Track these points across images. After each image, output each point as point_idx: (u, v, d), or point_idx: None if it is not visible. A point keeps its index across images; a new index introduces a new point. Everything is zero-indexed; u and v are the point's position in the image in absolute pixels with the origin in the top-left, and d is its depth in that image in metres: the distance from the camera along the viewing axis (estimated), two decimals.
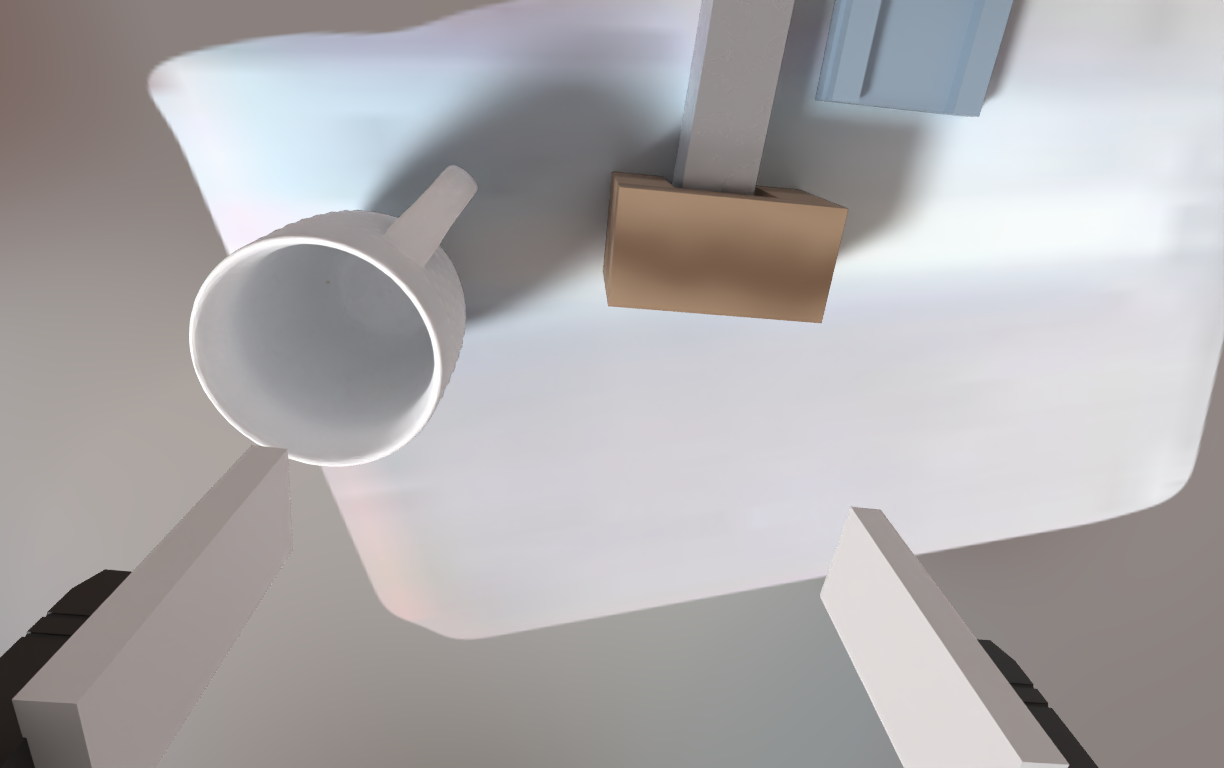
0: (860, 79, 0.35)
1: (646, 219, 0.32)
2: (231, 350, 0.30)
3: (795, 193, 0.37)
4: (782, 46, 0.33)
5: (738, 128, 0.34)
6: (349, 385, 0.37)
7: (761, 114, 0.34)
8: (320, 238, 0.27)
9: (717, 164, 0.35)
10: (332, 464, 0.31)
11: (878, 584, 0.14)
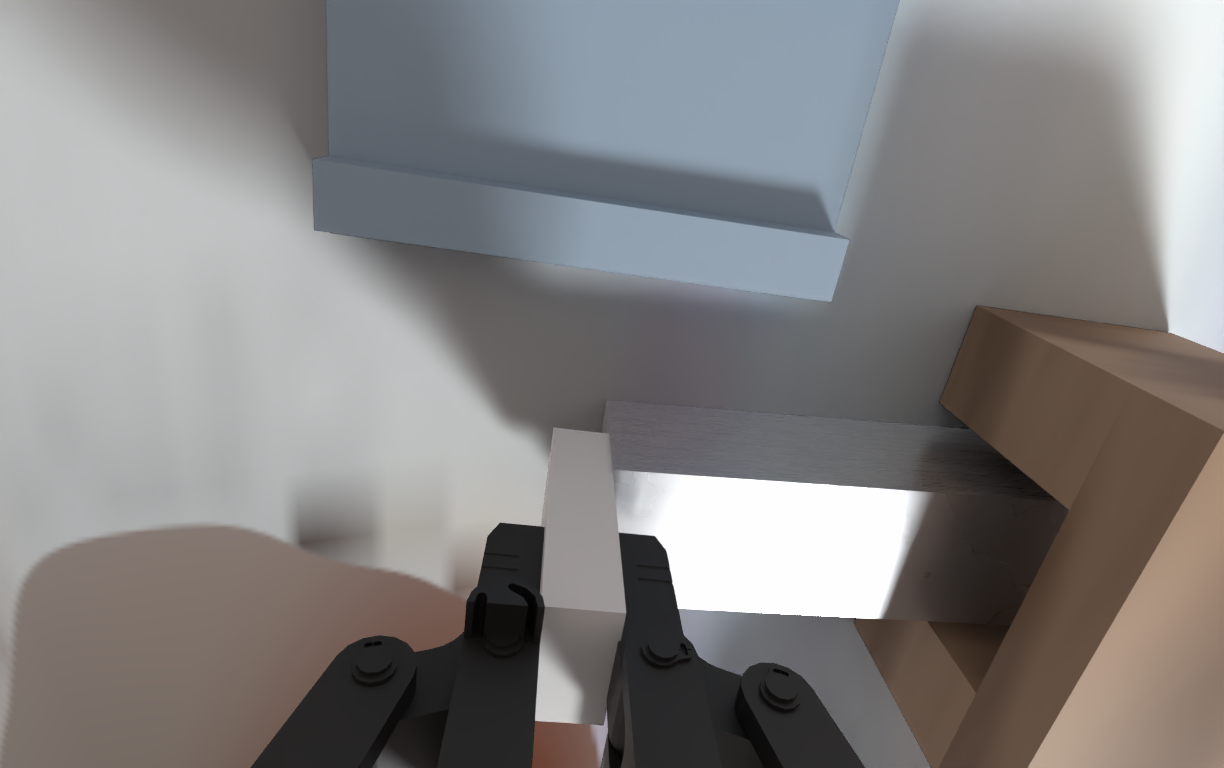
0: (799, 240, 0.15)
1: None
2: None
3: (1014, 375, 0.16)
4: (729, 482, 0.15)
5: (877, 542, 0.16)
6: None
7: (857, 505, 0.16)
8: None
9: (940, 569, 0.17)
10: None
11: None
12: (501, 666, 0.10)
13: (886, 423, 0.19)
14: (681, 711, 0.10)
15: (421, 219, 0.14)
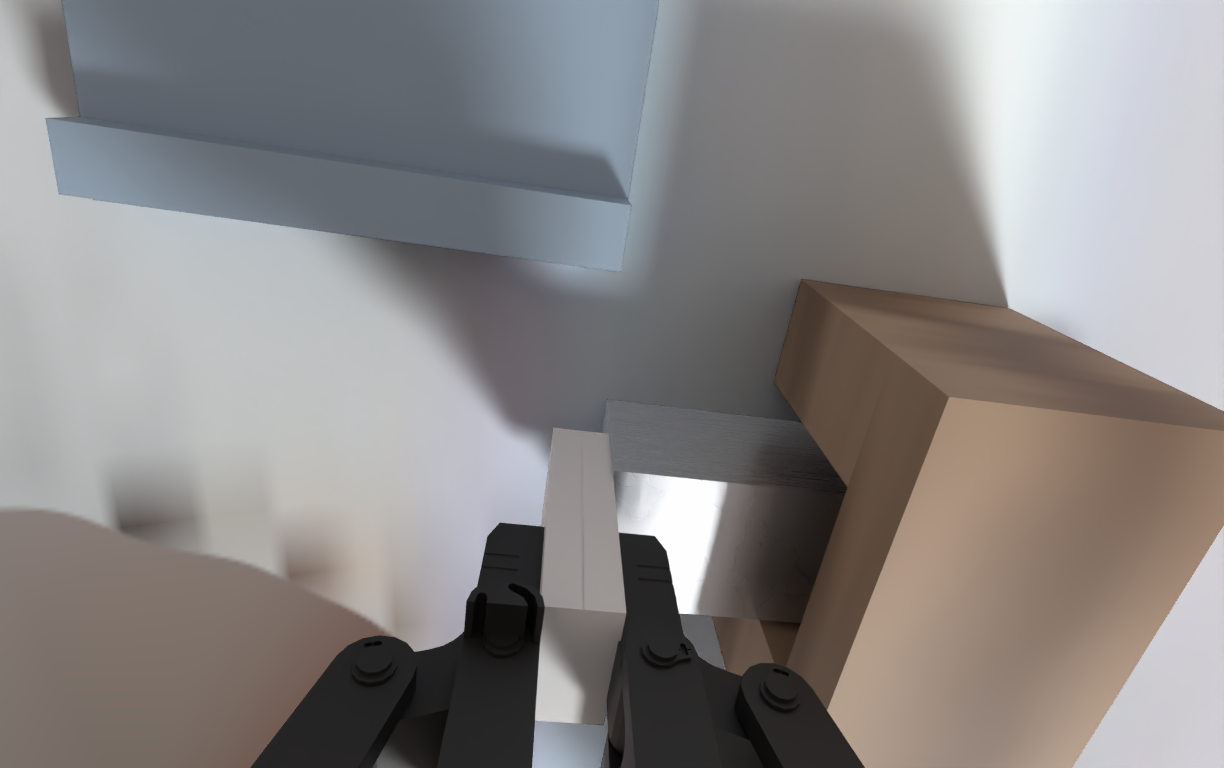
0: (577, 206, 0.14)
1: None
2: None
3: (820, 349, 0.16)
4: (730, 487, 0.15)
5: None
6: None
7: None
8: None
9: None
10: None
11: None
12: (501, 666, 0.10)
13: None
14: (681, 711, 0.10)
15: (171, 182, 0.14)
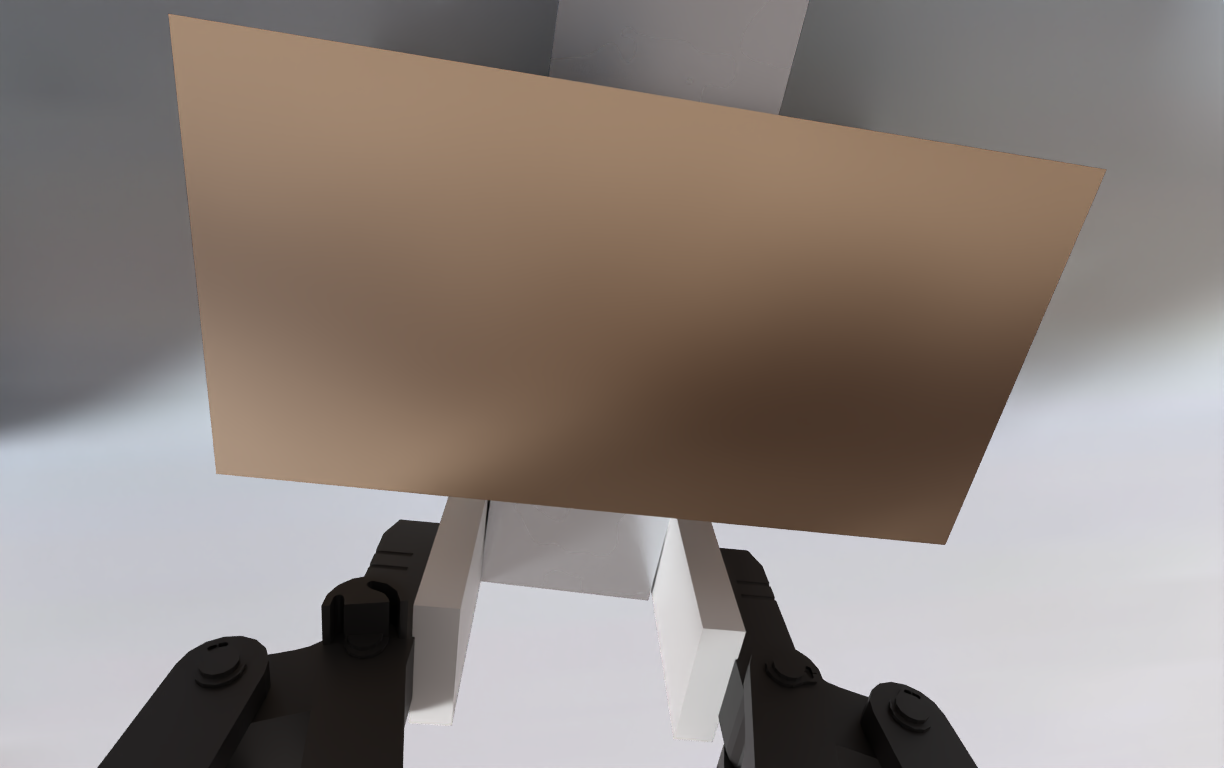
0: None
1: (311, 167, 0.08)
2: None
3: None
4: (794, 27, 0.11)
5: None
6: None
7: None
8: None
9: None
10: None
11: None
12: (365, 667, 0.09)
13: None
14: (804, 732, 0.10)
15: None
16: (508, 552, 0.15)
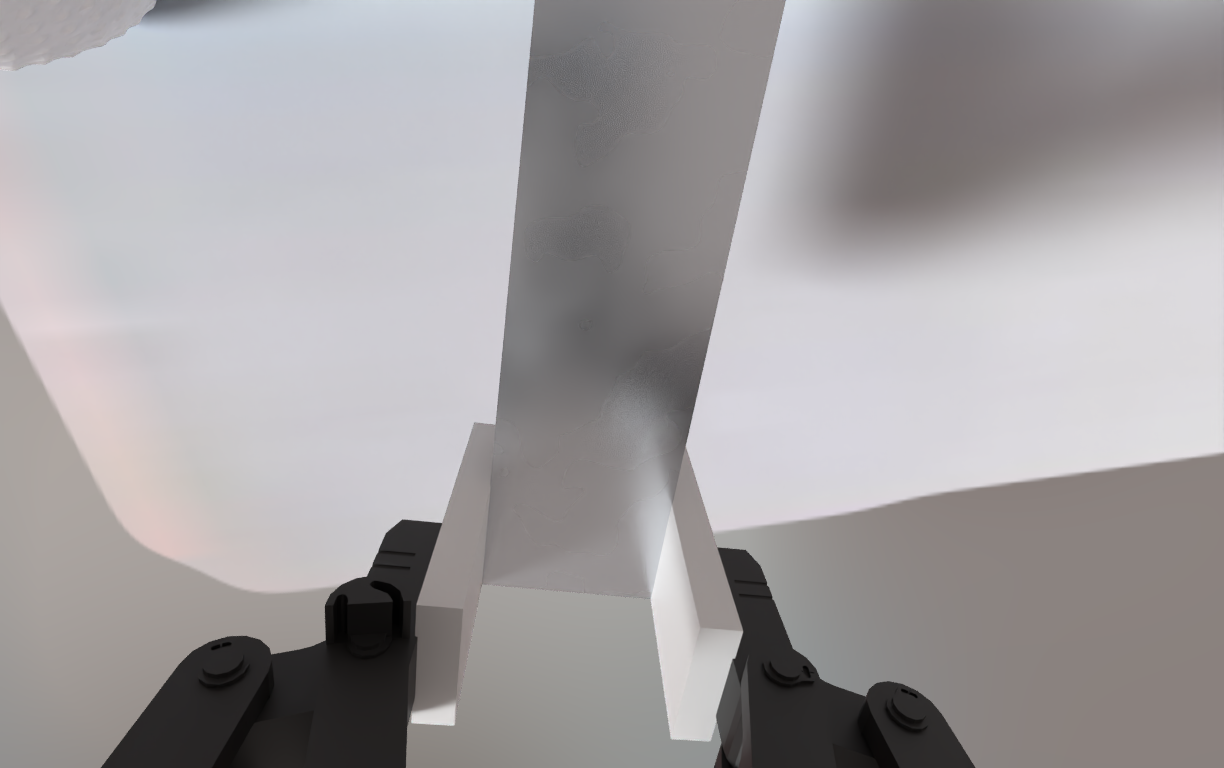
0: None
1: None
2: None
3: None
4: (774, 15, 0.11)
5: (645, 249, 0.12)
6: None
7: (710, 214, 0.12)
8: None
9: (593, 342, 0.13)
10: None
11: None
12: (368, 667, 0.09)
13: None
14: (801, 732, 0.10)
15: None
16: (509, 555, 0.15)
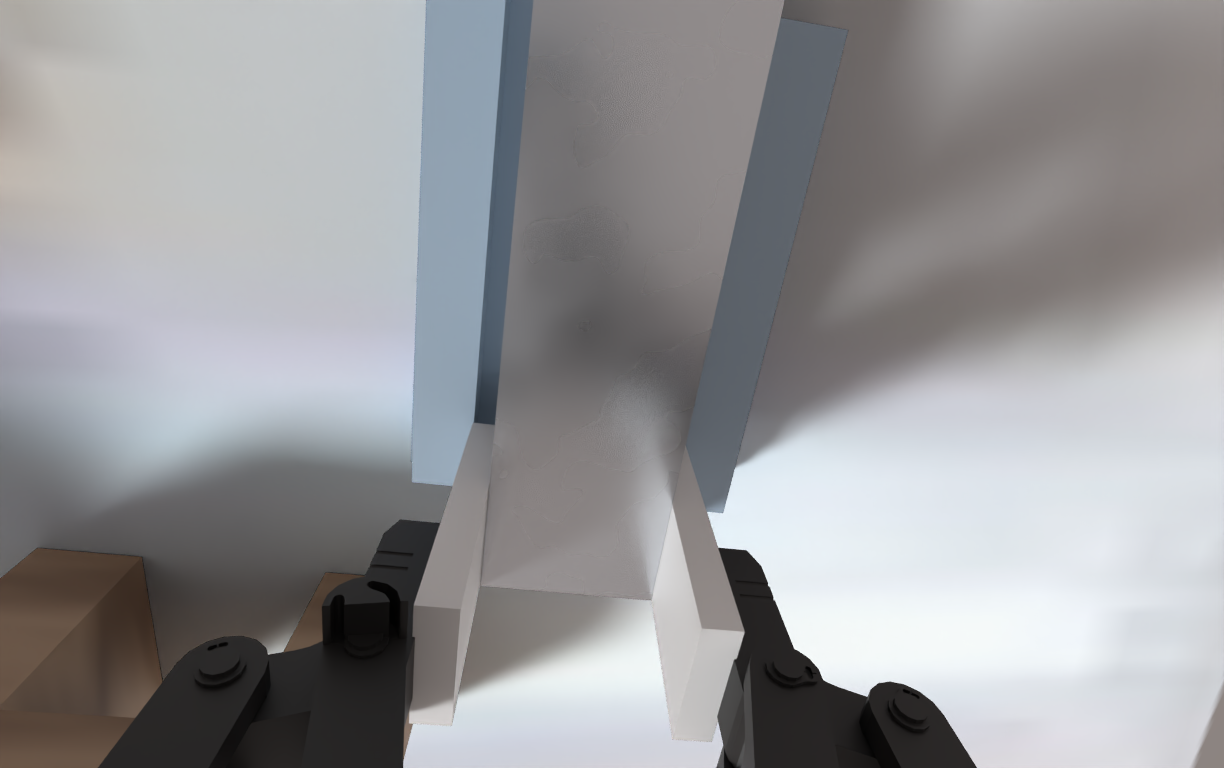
0: None
1: None
2: None
3: None
4: (773, 16, 0.11)
5: (644, 250, 0.12)
6: None
7: (709, 215, 0.12)
8: None
9: (592, 343, 0.13)
10: None
11: None
12: (366, 667, 0.09)
13: None
14: (804, 732, 0.10)
15: (453, 87, 0.14)
16: (509, 556, 0.15)
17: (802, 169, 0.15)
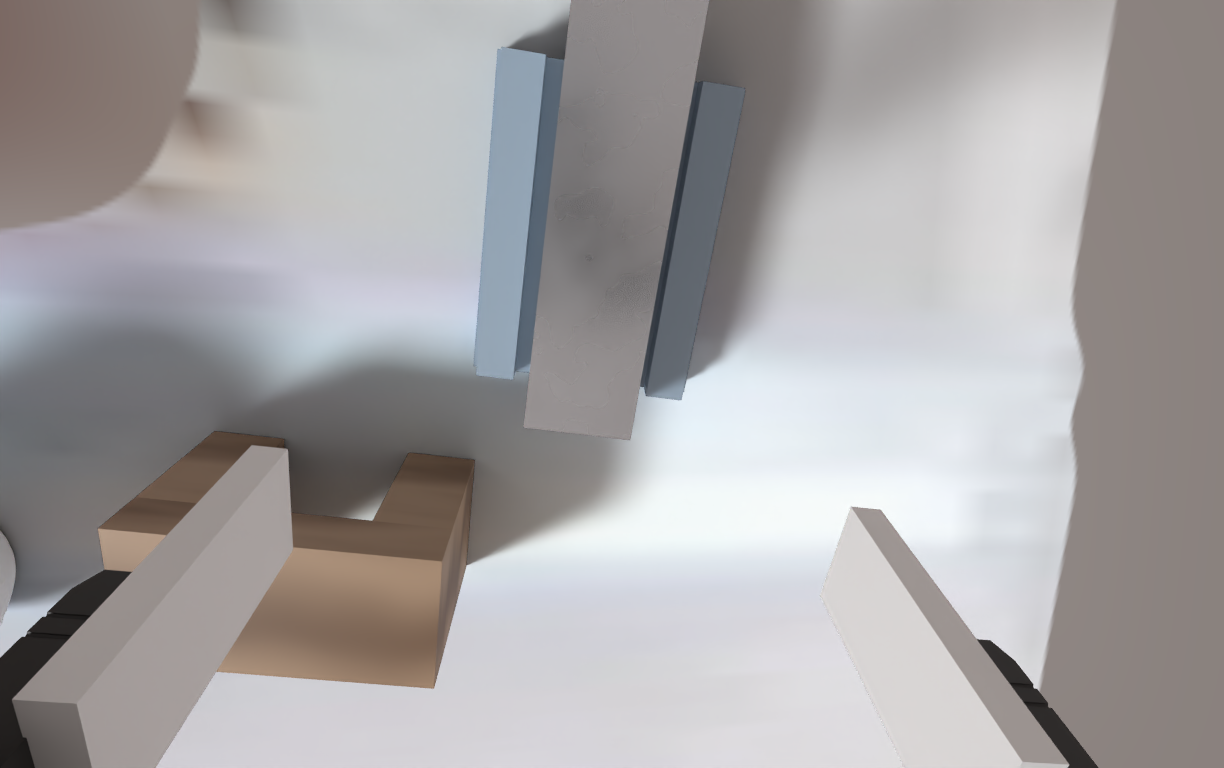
0: (511, 352, 0.26)
1: None
2: None
3: (440, 483, 0.28)
4: (689, 85, 0.20)
5: (623, 212, 0.21)
6: None
7: (658, 192, 0.21)
8: None
9: (593, 268, 0.22)
10: None
11: (878, 584, 0.14)
12: None
13: None
14: None
15: (512, 122, 0.23)
16: (541, 407, 0.24)
17: (722, 170, 0.24)
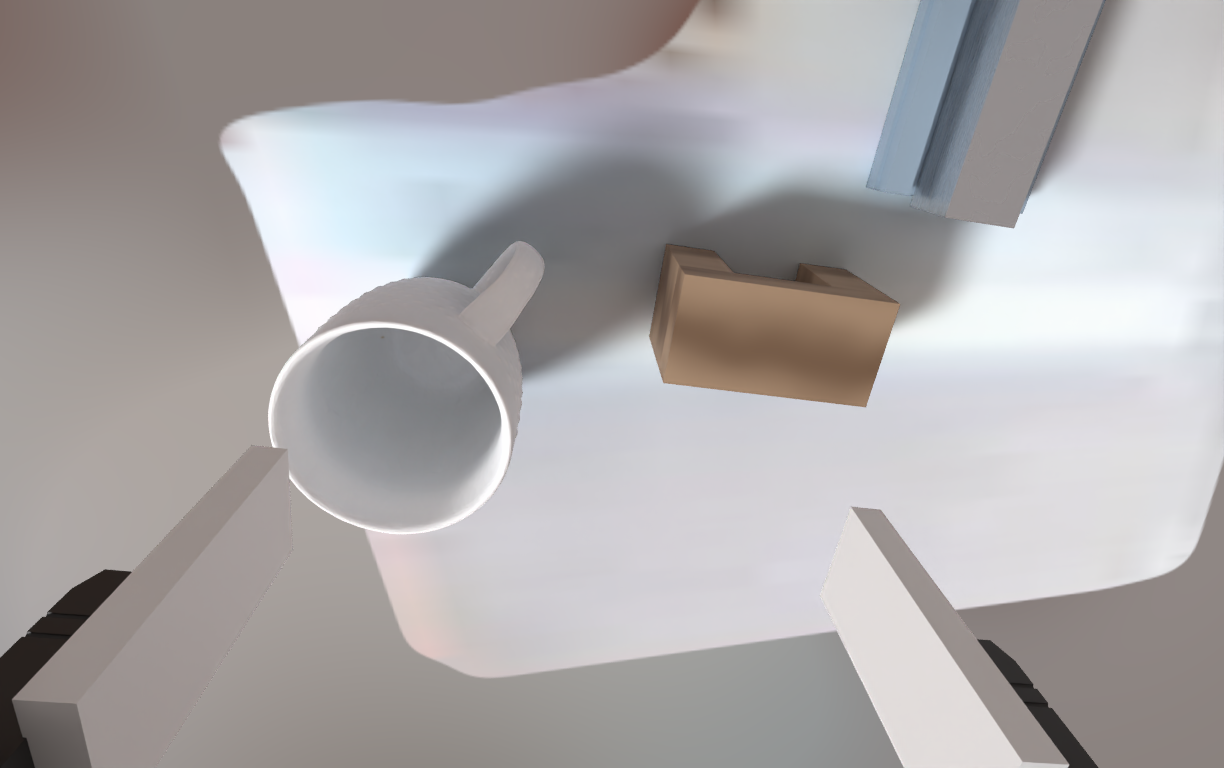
0: (913, 174, 0.37)
1: (708, 305, 0.33)
2: (302, 417, 0.31)
3: (843, 276, 0.38)
4: None
5: (1049, 56, 0.32)
6: (402, 441, 0.38)
7: (1076, 42, 0.32)
8: (406, 324, 0.27)
9: (1020, 97, 0.32)
10: (395, 532, 0.31)
11: (878, 584, 0.14)
12: None
13: None
14: None
15: None
16: (960, 201, 0.34)
17: None
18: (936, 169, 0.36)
